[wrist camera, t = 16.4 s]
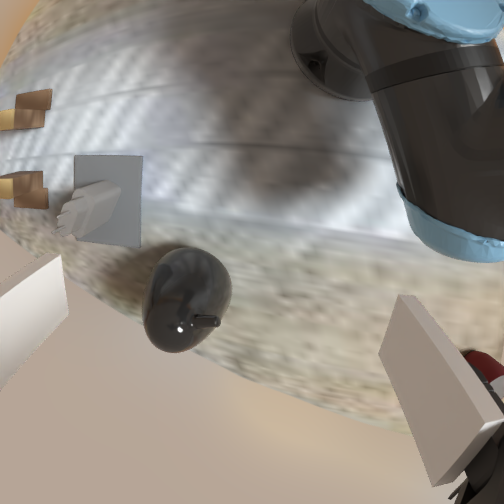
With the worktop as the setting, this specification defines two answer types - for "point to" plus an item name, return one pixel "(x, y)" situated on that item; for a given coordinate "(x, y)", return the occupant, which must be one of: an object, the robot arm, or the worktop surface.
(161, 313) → the pump dispenser
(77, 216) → the power adapter
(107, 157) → the mat
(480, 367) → the mug
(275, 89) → the worktop surface
